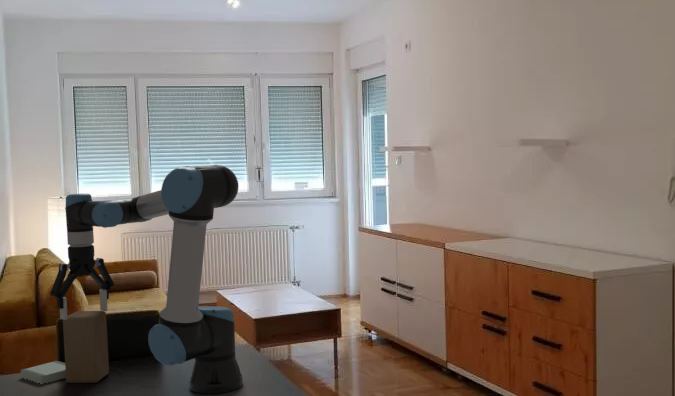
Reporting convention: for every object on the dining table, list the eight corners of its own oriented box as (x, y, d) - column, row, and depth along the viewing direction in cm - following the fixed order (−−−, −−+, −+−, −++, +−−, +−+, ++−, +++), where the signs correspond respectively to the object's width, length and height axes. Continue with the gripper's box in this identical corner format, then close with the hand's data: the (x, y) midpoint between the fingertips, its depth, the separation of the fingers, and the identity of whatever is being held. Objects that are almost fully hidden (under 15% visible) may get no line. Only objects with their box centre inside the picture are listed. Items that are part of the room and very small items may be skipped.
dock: (77, 374, 237) (77, 366, 237) (41, 384, 227) (41, 376, 227) (56, 368, 244) (56, 360, 244) (21, 378, 235) (20, 369, 235)
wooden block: (110, 373, 237) (107, 310, 235) (97, 383, 227) (93, 317, 225) (79, 373, 238) (75, 310, 236) (64, 383, 228) (61, 317, 226)
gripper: (109, 239, 241) (112, 305, 243) (35, 249, 222) (39, 321, 224) (123, 241, 237) (126, 308, 238) (49, 251, 217) (53, 324, 219)
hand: (84, 314), depth 231 cm, fingers closed on wooden block, 13 cm apart
